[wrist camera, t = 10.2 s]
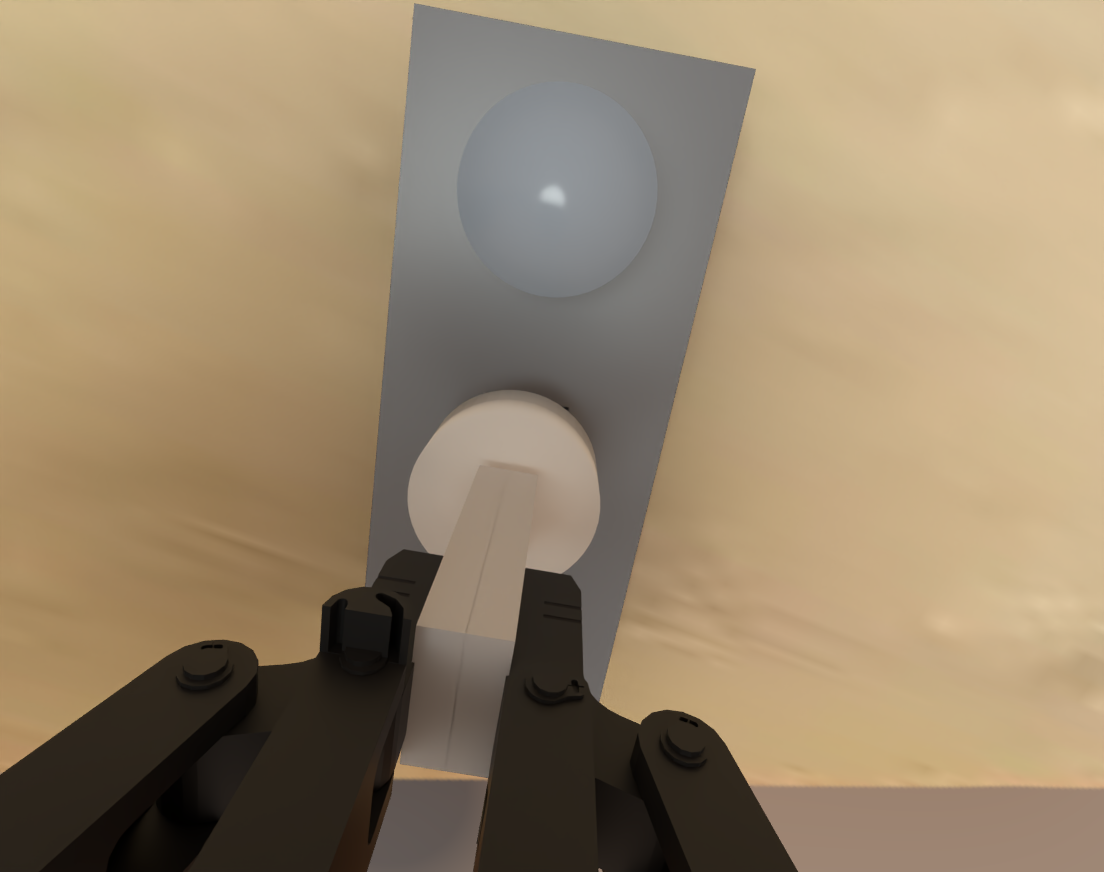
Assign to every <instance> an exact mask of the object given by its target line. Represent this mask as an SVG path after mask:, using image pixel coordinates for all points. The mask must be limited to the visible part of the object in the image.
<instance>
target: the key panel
mask: <svg viewBox="0 0 1104 872" xmlns="http://www.w3.org/2000/svg"><path fill="white" fill-rule="evenodd" d="M755 70H756V69H753V68H747V67H742V66H737V65H732V64H727V63H721V62H716V61H711V60H706V59H701V58H695V57H690V56H685V55H680V54H675V53H669V52H664V51H659V50H654V49H649V48H643V47H638V46H633V45H628V44H623V43H617V42H612V41H607V40H602V39H597V38H592V37H586V36H581V35H576V34H571V33H566V32H560V31H555V30H550V29H545V28H540V27H534V26H529V25H524V24H519V23H514V22H508V21H503V20H498V19H493V18H488V17H482V16H477V15H472V14H467V13H462V12H456V11H451V10H446V9H441V8H436V7H430V6H425V5H420V4H415V3H414V13H413V25H412V37H411V49H410V61H409V73H408V84H407V96H406V108H405V120H404V132H403V144H402V156H401V167H400V179H399V191H398V203H397V215H396V227H395V239H394V250H393V262H392V274H391V286H390V298H389V310H388V322H387V333H386V345H385V357H384V369H383V381H382V393H381V405H380V416H379V428H378V440H377V452H376V464H375V476H374V488H373V499H372V511H371V523H370V535H369V547H368V559H367V571H366V582H365V587H372V585H373V583H374V581H375V580H376V578H378V574H379V573H380V571H381V569H382V567H383V565H384V564H385V562H386V560H388V559H389V558H391V557H392V556H394V555H395V554H397V553H398V552H400V551H401V550H403V549H406V550H412V551H418V552H424V553H428V552H427V551H426V549H425V548H424V547H423V545H422V544H421V542H420V540H419V539H418V537H417V535H416V533H415V530H414V528H413V526H412V523H411V519H410V515H409V510H408V501H407V500H408V486H409V480H410V476H411V473H412V470H413V467H414V465H415V463H416V461H417V459H418V457H419V455H420V454H421V452H422V451H423V449H424V448H425V447H426V445H427V444H428V442H429V441H430V439H431V438H432V436H433V435H434V433H435V432H436V430H437V429H438V427H439V426H440V425H441V423H442V422H443V420H444V419H445V418H446V417H447V416H448V415H449V414H450V413H451V412H452V411H453V410H454V409H455V408H457V407H458V406H459V405H461V404H462V403H464V402H466V401H467V400H469V399H471V398H473V397H476V396H478V395H480V394H484V393H488V392H492V391H498V390H520V391H527V392H531V393H535V394H538V395H541V396H544V397H546V398H548V399H550V400H552V401H554V402H556V403H558V404H559V405H560V406H562V407H563V408H565V409H566V410H567V411H568V412H569V413H570V414H572V415H573V416H574V417H575V418H576V420H577V421H578V422H579V423H580V424H581V426H582V427H583V429H584V430H585V432H586V434H587V435H588V437H589V440H590V442H591V444H592V447H593V450H594V454H595V459H596V466H597V475H598V484H599V493H600V515H599V522H598V525H597V528H596V532H595V534H594V536H593V539H592V541H591V543H590V545H589V546H588V548H587V549H586V551H585V552H584V554H583V555H582V556H581V557H580V558H579V559H578V561H577V562H575V563H574V564H573V565H572V566H571V567H570V568H569V569H567V570H566V571H565V572H563V573H562V574H565V575H571V576H572V578H573V579H574V581H575V582H576V584H577V585H578V587H579V588H580V590H581V603H582V608H581V610H582V639H583V674H584V679H585V680H586V681H587V682H588V685H589V689H590V692H591V694H592V695H593V696H594V698H595V699H596V700H597V701H598V702H599V701H600V697H601V692H602V688H603V684H604V680H605V676H606V672H607V668H608V664H609V660H610V656H611V652H612V648H613V644H614V640H615V636H616V632H617V628H618V624H619V620H620V616H621V612H622V608H623V604H624V600H625V596H626V592H627V587H628V583H629V579H630V575H631V571H632V567H633V563H634V559H635V555H636V551H637V547H638V543H639V539H640V535H641V531H642V527H643V523H644V519H645V515H646V511H647V507H648V503H649V499H650V495H651V491H652V486H653V482H654V478H655V474H656V470H657V466H658V462H659V458H660V454H661V450H662V446H663V442H664V438H665V434H666V430H667V426H668V422H669V418H670V414H671V410H672V406H673V402H674V398H675V394H676V390H677V386H678V381H679V377H680V373H681V369H682V365H683V361H684V357H685V353H686V349H687V345H688V341H689V337H690V333H691V329H692V325H693V321H694V317H695V313H696V309H697V305H698V301H699V297H700V293H701V289H702V285H703V280H704V276H705V272H706V268H707V264H708V260H709V256H710V252H711V248H712V244H713V240H714V236H715V232H716V228H717V224H718V220H719V216H720V212H721V208H722V204H723V200H724V196H725V192H726V188H727V184H728V180H729V175H730V171H731V167H732V163H733V159H734V155H735V151H736V147H737V143H738V139H739V135H740V131H741V127H742V123H743V119H744V115H745V111H746V107H747V103H748V99H749V95H750V91H751V87H752V83H753V79H754V75H755ZM556 81H563V82H572V83H577V84H581V85H585V86H589V87H591V88H593V89H596V90H598V91H600V92H602V93H604V94H605V95H607V96H609V97H610V98H612V99H613V100H615V101H616V102H617V103H618V104H619V105H621V106H622V107H623V108H624V109H625V110H626V111H627V112H628V113H629V114H630V115H631V116H632V118H633V119H634V120H635V121H636V123H637V124H638V126H639V127H640V129H641V130H642V132H643V134H644V136H645V138H646V140H647V142H648V144H649V147H650V149H651V152H652V155H653V158H654V163H655V167H656V173H657V184H658V191H657V204H656V211H655V216H654V219H653V223H652V226H651V229H650V231H649V234H648V236H647V239H646V241H645V242H644V244H643V246H642V248H641V249H640V251H639V253H638V254H637V255H636V257H635V258H634V259H633V261H632V262H631V263H630V264H629V265H628V266H627V267H626V268H625V269H624V270H623V271H622V272H621V273H620V274H619V275H617V276H616V277H615V278H614V279H612V280H611V281H609V282H608V283H606V284H604V285H603V286H601V287H599V288H597V289H595V290H592V291H590V292H587V293H584V294H580V295H576V296H570V297H544V296H538V295H534V294H530V293H527V292H524V291H522V290H519V289H517V288H515V287H513V286H511V285H509V284H508V283H506V282H504V281H503V280H502V279H500V278H499V277H498V276H496V275H495V274H494V273H493V272H492V271H491V270H490V269H489V268H488V267H487V266H486V265H485V264H484V263H483V262H482V260H481V259H480V258H479V257H478V256H477V254H476V252H475V251H474V249H473V248H472V246H471V244H470V242H469V240H468V238H467V236H466V234H465V231H464V228H463V225H462V222H461V219H460V214H459V209H458V200H457V178H458V172H459V166H460V161H461V158H462V155H463V151H464V149H465V146H466V144H467V142H468V140H469V137H470V135H471V134H472V132H473V131H474V129H475V127H476V126H477V124H478V123H479V122H480V120H481V119H482V118H483V117H484V115H485V114H486V113H487V112H488V111H489V110H490V109H491V108H492V107H493V106H494V105H496V104H497V103H498V102H499V101H501V100H502V99H504V98H505V97H506V96H508V95H510V94H512V93H514V92H516V91H517V90H519V89H522V88H525V87H528V86H530V85H533V84H538V83H544V82H556Z"/></svg>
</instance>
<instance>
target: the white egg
mask: <svg viewBox="0 0 1104 872" xmlns="http://www.w3.org/2000/svg"><path fill="white" fill-rule="evenodd" d="M479 465H482V466H488V467H494V468H500V469H505V470H511V471H517V472H523V473H529V474H534V475H538V479H537V486H536V494H535V501H534V508H533V515H532V523H531V530H530V537H529V545H528V552H527V559H526V566H525V568H530V569H536V570H542V571H548V572H554V573H559V574H562V573H563V572H565V571H566V570H567V569H569V568H570V567H571V566H572V565H573V564H574V563H575V562H577V561H578V559H579V558H580V557H581V556H582V555H583V554H584V552H585V551H586V549H587V548H588V546H589V545H590V543H591V541H592V539H593V536H594V534H595V532H596V528H597V525H598V522H599V515H600V493H599V484H598V475H597V466H596V459H595V454H594V450H593V447H592V444H591V442H590V440H589V437H588V435H587V434H586V432H585V430H584V429H583V427H582V426H581V424H580V423H579V422H578V421H577V420H576V418H575V417H574V416H573V415H572V414H570V413H569V412H568V411H567V410H566V409H565V408H563V407H562V406H560V405H559V404H558V403H556V402H554V401H552V400H550V399H548V398H546V397H544V396H541V395H538V394H535V393H531V392H527V391H520V390H498V391H492V392H488V393H484V394H480V395H478V396H476V397H473V398H471V399H469V400H467V401H466V402H464V403H462V404H461V405H459V406H458V407H457V408H455V409H454V410H453V411H452V412H451V413H450V414H449V415H448V416H447V417H446V418H445V419H444V420H443V422H442V423H441V425H440V426H439V427H438V429H437V430H436V432H435V433H434V435H433V436H432V438H431V439H430V441H429V442H428V444H427V445H426V447H425V448H424V449H423V451H422V452H421V454H420V455H419V457H418V459H417V461H416V463H415V465H414V467H413V470H412V473H411V476H410V480H409V486H408V500H407V501H408V510H409V515H410V519H411V523H412V526H413V528H414V530H415V533H416V535H417V537H418V539H419V540H420V542H421V544H422V545H423V547H424V548H425V549H426V551H427V552H428V553H430V554H436V555H442V556H444V554H445V551H446V549H447V546H448V544H449V541H450V539H451V536H452V534H453V531H454V529H455V526H456V523H457V521H458V518H459V516H460V513H461V511H462V508H463V506H464V503H465V501H466V498H467V496H468V493H469V491H470V488H471V486H472V483H473V480H474V478H475V475H476V473H477V470H478V468H479Z"/></svg>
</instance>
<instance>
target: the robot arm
mask: <svg viewBox="0 0 1104 872" xmlns="http://www.w3.org/2000/svg"><path fill="white" fill-rule="evenodd" d="M537 479H538V475H534V474H529V473H523V472H517V471H511V470H505V469H500V468H494V467H488V466H482V465H479V468H478V470H477V473H476V475H475V478H474V480H473V483H472V486H471V488H470V491H469V493H468V496H467V498H466V501H465V503H464V506H463V508H462V511H461V513H460V516H459V518H458V521H457V523H456V526H455V529H454V531H453V534H452V536H451V539H450V541H449V544H448V546H447V549H446V551H445V554H444V556H442V555H436V554H430V553H424V552H418V551H412V550H406V549H403V550H401V551H400V552H398V553H397V554H395V555H394V556H392V557H391V558H389V559H388V560H386V562H385V564H384V565H383V567H382V569H381V571H380V573H379V574H378V578H376V580H375V581H374V583H373V585H372V587H359V588H353V589H348V590H345V591H343V592H340V593H338V594H336V595H334V596H332V597H331V598H330V599H329V600H328V601H327V602H325V603H324V604H323V605H322V621H321V638H320V652H319V653H318V655H317V657H316V658H314V659H311V660H307V661H304V662H299V663H292V664H284V665H270V666H258V659H257V657H256V655H255V653H254V651H253V650H252V649H250V648H248V647H247V646H245V645H244V644H242V643H239V642H234V641H228V640H211V641H202V642H199V643H195V644H192V645H188V646H185V647H183V648H181V649H179V650H177V651H175V652H173V653H172V654H170V655H168V656H166V657H165V658H163V659H162V660H161V661H159V662H158V663H156V664H155V665H154V666H152V667H151V668H149V669H148V670H147V671H145V672H144V673H142V674H141V675H140V676H138V677H137V678H135V679H134V680H133V681H131V682H130V683H128V684H127V685H126V686H124V687H123V688H121V689H120V690H118V691H117V692H116V693H114V694H113V695H111V696H110V697H109V698H107V699H106V700H104V701H103V702H102V703H100V704H99V705H97V706H96V707H95V708H93V709H92V710H90V711H89V712H88V713H86V714H85V715H83V716H82V717H81V718H79V719H78V720H76V721H75V722H74V723H72V724H71V725H69V726H68V727H67V728H65V729H64V730H62V731H61V732H60V733H58V734H57V735H55V736H54V737H53V738H51V739H50V740H48V741H47V742H46V743H44V744H43V745H41V746H40V747H38V748H37V749H36V750H34V751H33V752H31V753H30V754H29V755H27V756H26V757H24V758H23V759H22V760H20V761H19V762H17V763H16V764H15V765H13V766H12V767H10V768H9V769H8V770H6V771H5V772H3V773H2V774H1V775H0V872H367V869H368V867H369V863H370V860H371V857H372V854H373V850H374V848H375V844H376V841H377V838H378V835H379V832H380V829H381V825H382V822H383V819H384V816H385V813H386V810H387V807H388V803H389V800H390V797H391V794H392V793H391V792H392V784H393V776H394V769H395V766H396V763H397V760H398V757H399V754H400V751H401V758H400V764H403V765H410V766H416V767H422V768H428V769H435V770H441V771H447V772H454V773H460V774H466V775H473V776H479V777H485V778H488V784H487V789H486V795H485V800H484V806H483V811H482V817H481V822H480V827H479V833H478V838H477V850H476V856H475V862H474V869H473V872H598V868H600V869H602V871H603V872H798V871H797V869H796V868H795V866H794V864H793V862H792V860H791V859H790V857H789V855H788V853H787V852H786V850H785V848H784V846H783V844H782V843H781V841H780V839H779V837H778V836H777V834H776V833H775V831H774V829H773V827H772V825H771V823H770V822H769V820H768V818H767V816H766V815H765V813H764V811H763V809H762V808H761V806H760V804H759V802H758V801H757V799H756V797H755V795H754V794H753V792H752V790H751V788H750V786H749V785H748V783H747V781H746V779H745V778H744V776H743V774H742V772H741V771H740V769H739V767H738V765H737V764H736V762H735V760H734V758H733V757H732V755H731V753H730V751H729V750H728V748H727V746H726V744H725V743H724V742H723V740H722V739H721V738H720V737H719V735H718V734H717V733H716V732H715V730H714V729H712V728H711V727H710V726H708V725H707V724H706V723H704V722H703V721H702V720H700V719H698V718H696V717H694V716H691V715H689V714H686V713H684V712H679V711H672V710H663V711H658V712H653V713H651V714H650V715H649V716H647V717H646V718H645V719H643V720H642V722H641V725H640V724H638V723H636V722H633V721H631V720H629V719H626V718H624V717H622V716H620V715H618V714H616V713H614V712H612V711H610V710H608V709H607V708H606V707H604V706H603V705H602V704H601V703H599V702H598V701H597V700H596V699H595V698H594V696H593V695H592V694H591V692H590V689H589V685H588V682H587V681H586V680H585V679H584V674H583V639H582V610H581V608H582V603H581V590H580V588H579V587H578V585H577V584H576V582H575V581H574V579H573V578H572V576H571V575H565V574H559V573H554V572H548V571H542V570H536V569H530V568H525V566H526V559H527V552H528V545H529V537H530V530H531V523H532V515H533V508H534V501H535V494H536V486H537ZM401 748H402V749H401Z"/></svg>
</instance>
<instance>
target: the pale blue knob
mask: <svg viewBox="0 0 1104 872" xmlns="http://www.w3.org/2000/svg"><path fill="white" fill-rule="evenodd" d="M657 191H658V184H657V173H656V167H655V163H654V158H653V155H652V152H651V149H650V147H649V144H648V142H647V140H646V138H645V136H644V134H643V132H642V130H641V129H640V127H639V126H638V124H637V123H636V121H635V120H634V119H633V118H632V116H631V115H630V114H629V113H628V112H627V111H626V110H625V109H624V108H623V107H622V106H621V105H619V104H618V103H617V102H616V101H615V100H613V99H612V98H610V97H609V96H607V95H605V94H604V93H602V92H600V91H598V90H596V89H593V88H591V87H589V86H585V85H581V84H577V83H572V82H563V81H556V82H544V83H538V84H533V85H530V86H528V87H525V88H522V89H519V90H517V91H516V92H514V93H512V94H510V95H508V96H506V97H505V98H504V99H502V100H501V101H499V102H498V103H497V104H496V105H494V106H493V107H492V108H491V109H490V110H489V111H488V112H487V113H486V114H485V115H484V117H483V118H482V119H481V120H480V122H479V123H478V124H477V126H476V127H475V129H474V131H473V132H472V134H471V135H470V137H469V140H468V142H467V144H466V146H465V149H464V151H463V155H462V158H461V161H460V166H459V172H458V178H457V200H458V209H459V214H460V219H461V222H462V225H463V228H464V231H465V234H466V236H467V238H468V240H469V242H470V244H471V246H472V248H473V249H474V251H475V252H476V254H477V256H478V257H479V258H480V259H481V260H482V262H483V263H484V264H485V265H486V266H487V267H488V268H489V269H490V270H491V271H492V272H493V273H494V274H495V275H496V276H498V277H499V278H500V279H502V280H503V281H504V282H506V283H508V284H509V285H511V286H513V287H515V288H517V289H519V290H522V291H524V292H527V293H530V294H534V295H538V296H544V297H570V296H576V295H580V294H584V293H587V292H590V291H592V290H595V289H597V288H599V287H601V286H603V285H604V284H606V283H608V282H609V281H611V280H612V279H614V278H615V277H616V276H617V275H619V274H620V273H621V272H622V271H623V270H624V269H625V268H626V267H627V266H628V265H629V264H630V263H631V262H632V261H633V259H634V258H635V257H636V255H637V254H638V253H639V251H640V249H641V248H642V246H643V244H644V242H645V241H646V239H647V236H648V234H649V231H650V229H651V226H652V223H653V219H654V216H655V211H656V204H657Z"/></svg>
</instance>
